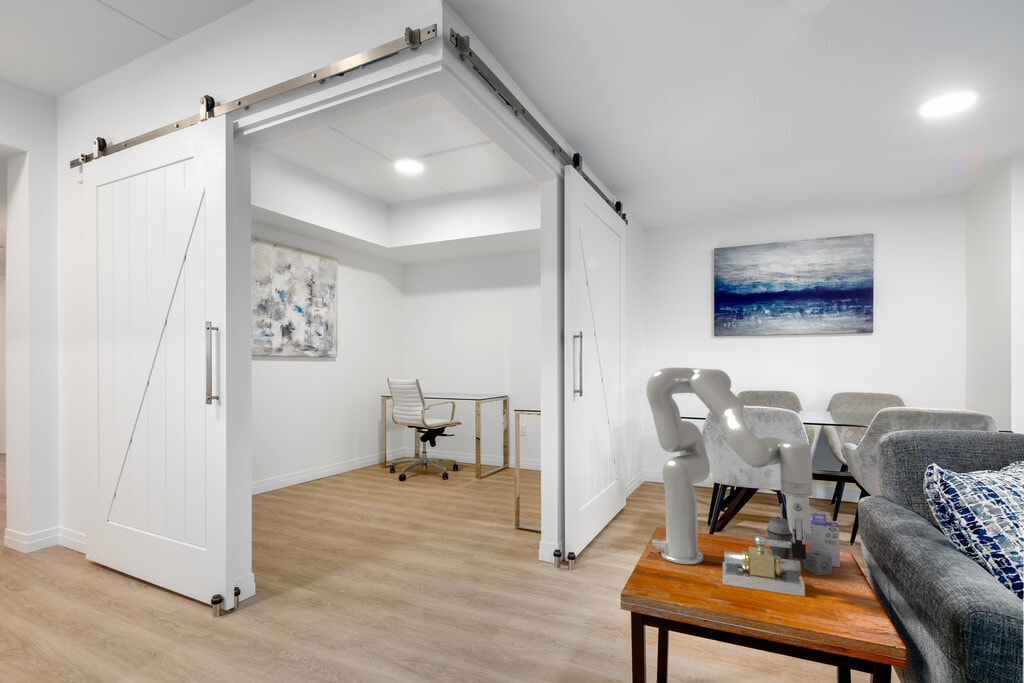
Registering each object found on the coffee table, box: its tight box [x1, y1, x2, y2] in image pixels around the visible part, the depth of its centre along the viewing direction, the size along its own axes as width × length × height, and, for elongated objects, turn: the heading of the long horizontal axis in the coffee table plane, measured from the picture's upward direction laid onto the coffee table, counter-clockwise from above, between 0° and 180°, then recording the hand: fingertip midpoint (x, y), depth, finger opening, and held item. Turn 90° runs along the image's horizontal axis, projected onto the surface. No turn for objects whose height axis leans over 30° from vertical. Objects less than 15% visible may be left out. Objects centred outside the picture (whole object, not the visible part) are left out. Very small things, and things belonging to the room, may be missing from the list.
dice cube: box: [803, 551, 833, 576], centre depth 152 cm, size 5×5×5 cm
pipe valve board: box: [722, 544, 806, 597], centre depth 144 cm, size 20×9×11 cm, turn 68°
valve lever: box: [754, 535, 811, 552], centre depth 142 cm, size 14×3×2 cm, turn 67°
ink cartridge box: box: [802, 512, 841, 568], centre depth 159 cm, size 10×6×14 cm, turn 65°
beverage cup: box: [766, 503, 792, 560], centre depth 153 cm, size 7×7×20 cm
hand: (798, 557), depth 137 cm, fingers closed
